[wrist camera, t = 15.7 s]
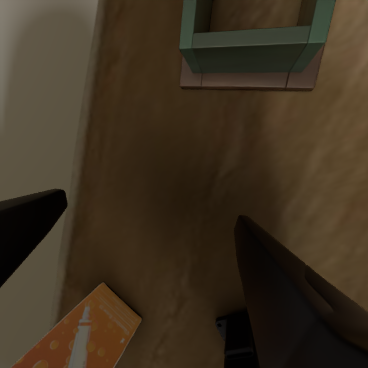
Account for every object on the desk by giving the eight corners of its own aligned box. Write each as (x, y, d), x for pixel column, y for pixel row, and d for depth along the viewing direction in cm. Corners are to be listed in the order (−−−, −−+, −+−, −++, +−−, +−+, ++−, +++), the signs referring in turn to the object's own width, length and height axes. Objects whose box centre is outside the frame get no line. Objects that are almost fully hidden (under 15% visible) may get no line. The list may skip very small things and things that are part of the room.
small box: (143, 317, 25) (54, 473, 13) (124, 340, 27) (30, 495, 15) (102, 279, 26) (-15, 389, 14) (86, 304, 28) (-30, 420, 16)
